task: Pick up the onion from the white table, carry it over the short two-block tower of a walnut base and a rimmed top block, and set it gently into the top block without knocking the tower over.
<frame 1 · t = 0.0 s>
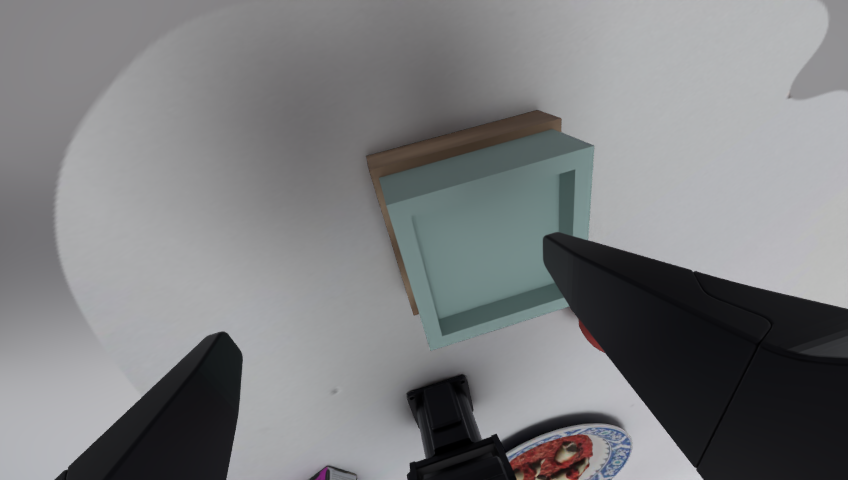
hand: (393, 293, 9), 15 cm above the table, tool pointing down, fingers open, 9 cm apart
ceramic plate: (542, 462, 51), on the table
bottom block: (463, 207, 26), on the table
top block: (478, 229, 23), point 3 cm above the table
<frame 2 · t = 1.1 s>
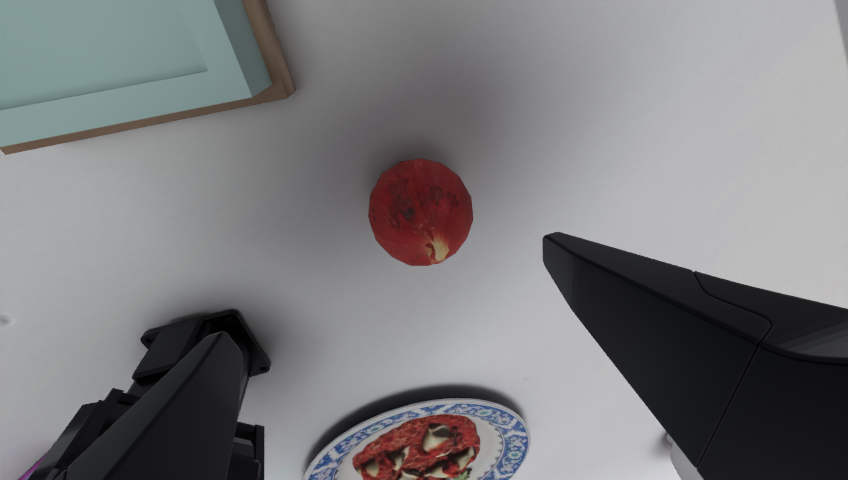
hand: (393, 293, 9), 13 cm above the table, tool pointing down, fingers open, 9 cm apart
teacup: (690, 424, 51), on the table
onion: (409, 187, 22), on the table
ceramic plate: (418, 453, 39), on the table
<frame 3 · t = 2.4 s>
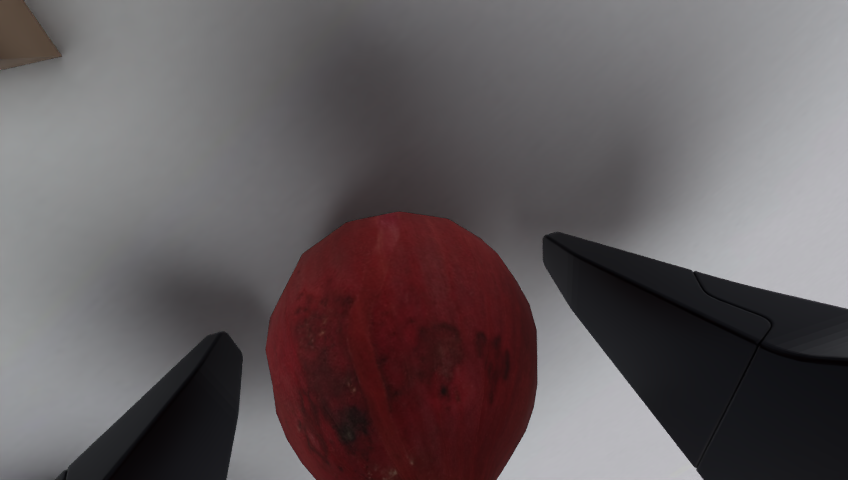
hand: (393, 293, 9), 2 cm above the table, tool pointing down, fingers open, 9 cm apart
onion: (386, 251, 11), on the table
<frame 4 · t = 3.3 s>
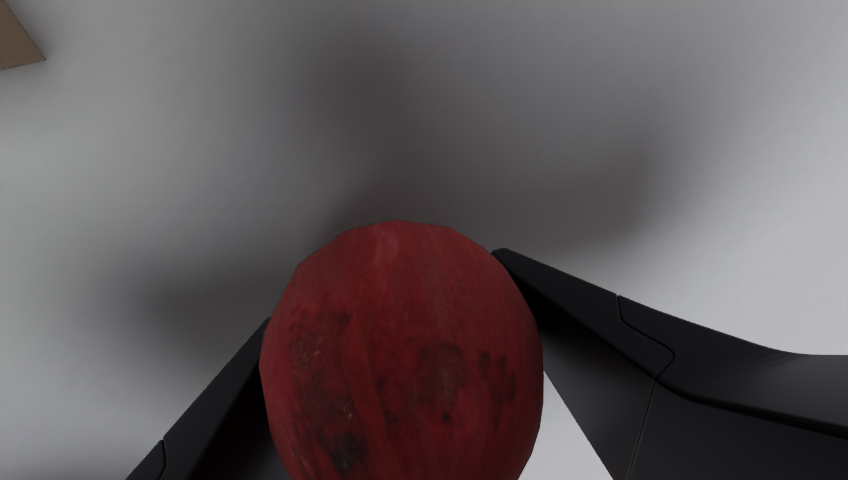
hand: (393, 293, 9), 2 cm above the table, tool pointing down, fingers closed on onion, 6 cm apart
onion: (385, 257, 11), on the table, touching gripper
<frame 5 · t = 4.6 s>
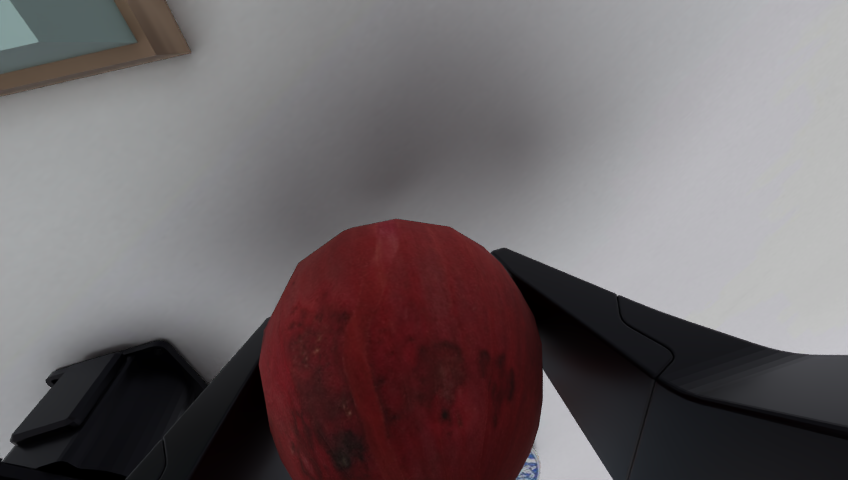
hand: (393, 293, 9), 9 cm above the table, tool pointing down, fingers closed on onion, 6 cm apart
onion: (385, 257, 11), point 7 cm above the table, touching gripper
when the fingers open (9 cm above the table, at t = 8.1 s): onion drops 2 cm, resting on top block.
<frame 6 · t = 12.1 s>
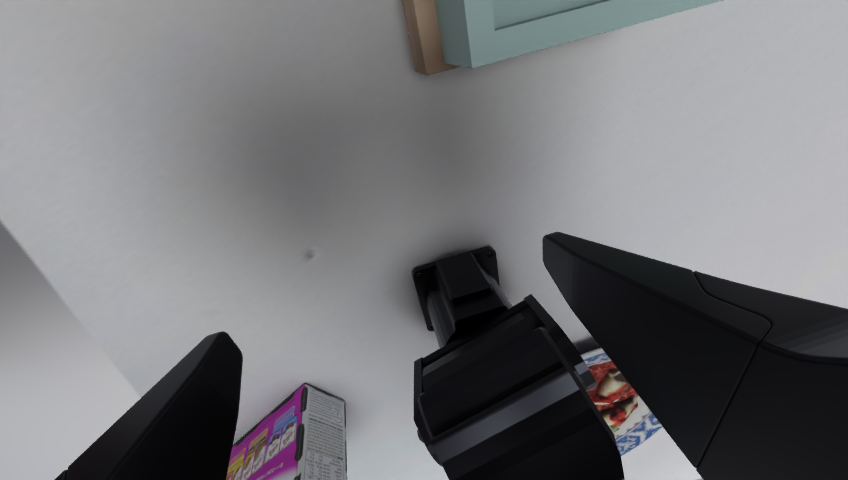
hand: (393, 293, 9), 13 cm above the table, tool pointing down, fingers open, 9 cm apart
candy bar box: (289, 422, 31), on the table
ceramic plate: (578, 403, 41), on the table
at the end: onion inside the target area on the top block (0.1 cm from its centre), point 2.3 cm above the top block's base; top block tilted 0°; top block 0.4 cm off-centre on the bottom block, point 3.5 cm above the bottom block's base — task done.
